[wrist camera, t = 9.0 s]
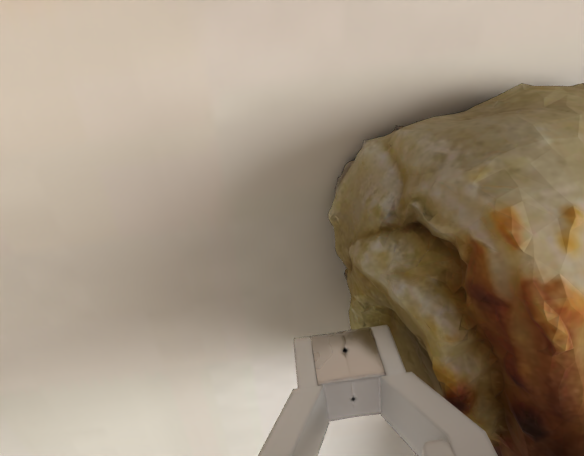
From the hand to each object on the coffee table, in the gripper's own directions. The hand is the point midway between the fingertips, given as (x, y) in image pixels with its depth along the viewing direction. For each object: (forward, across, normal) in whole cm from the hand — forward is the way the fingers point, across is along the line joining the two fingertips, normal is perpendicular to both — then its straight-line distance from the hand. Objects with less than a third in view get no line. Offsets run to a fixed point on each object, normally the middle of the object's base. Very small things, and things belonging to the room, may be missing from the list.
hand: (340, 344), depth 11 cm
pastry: (+4, +7, 0) cm, 8 cm away
